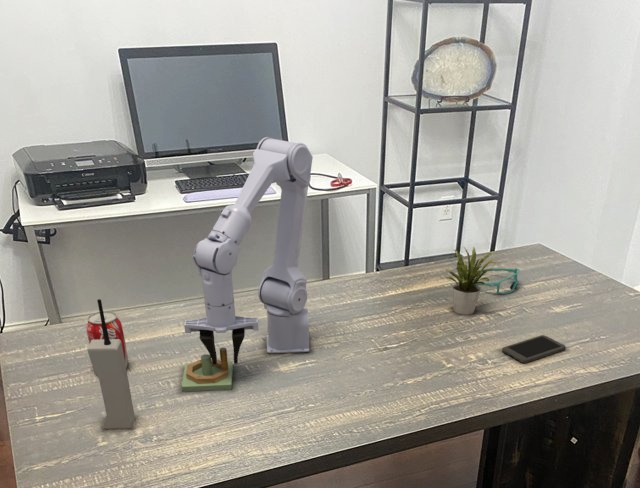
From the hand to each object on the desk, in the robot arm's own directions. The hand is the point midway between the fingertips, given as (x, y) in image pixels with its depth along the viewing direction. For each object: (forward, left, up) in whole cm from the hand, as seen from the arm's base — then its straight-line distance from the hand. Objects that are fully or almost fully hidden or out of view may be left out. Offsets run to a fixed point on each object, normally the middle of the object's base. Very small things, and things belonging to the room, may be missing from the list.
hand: (225, 361), depth 141 cm
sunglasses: (-72, -47, -4) cm, 86 cm away
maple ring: (+4, 0, -3) cm, 5 cm away
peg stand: (+4, 0, -4) cm, 5 cm away
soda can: (+24, -6, -4) cm, 25 cm away
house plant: (-61, -30, -4) cm, 68 cm away
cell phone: (-70, -7, -4) cm, 70 cm away
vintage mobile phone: (+19, +16, -4) cm, 25 cm away
